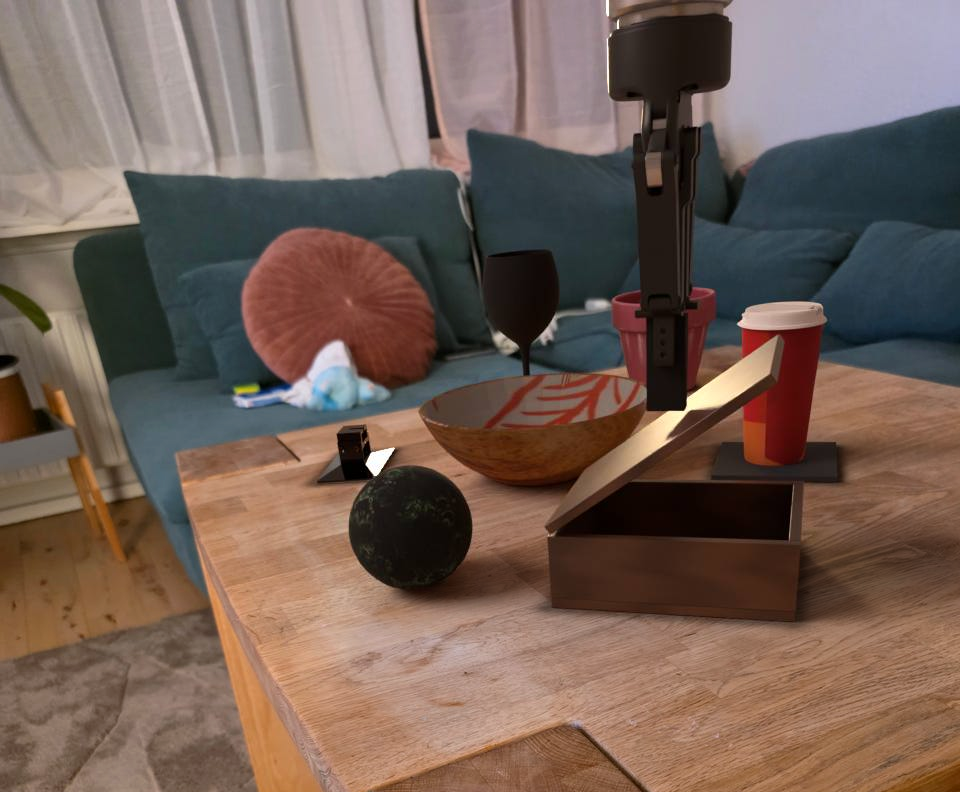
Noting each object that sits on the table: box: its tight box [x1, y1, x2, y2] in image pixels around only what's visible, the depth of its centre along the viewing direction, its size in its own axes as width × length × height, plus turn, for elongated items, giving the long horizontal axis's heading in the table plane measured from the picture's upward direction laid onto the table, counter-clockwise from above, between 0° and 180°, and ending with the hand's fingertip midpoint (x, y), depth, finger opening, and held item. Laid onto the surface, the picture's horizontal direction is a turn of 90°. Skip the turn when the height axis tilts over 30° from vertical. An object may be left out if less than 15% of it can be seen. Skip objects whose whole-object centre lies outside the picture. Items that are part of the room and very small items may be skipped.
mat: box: [710, 441, 839, 483], centre depth 94 cm, size 12×12×1 cm
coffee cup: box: [736, 301, 828, 466], centre depth 90 cm, size 8×8×15 cm
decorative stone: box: [348, 464, 474, 591], centre depth 72 cm, size 10×10×10 cm
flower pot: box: [611, 286, 717, 391], centre depth 126 cm, size 14×14×13 cm
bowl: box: [417, 372, 647, 487], centre depth 97 cm, size 25×25×8 cm
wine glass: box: [482, 248, 560, 376], centre depth 124 cm, size 10×10×20 cm
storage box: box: [546, 478, 805, 622], centre depth 70 cm, size 18×14×6 cm
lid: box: [544, 334, 785, 535], centre depth 66 cm, size 19×14×1 cm
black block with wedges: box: [315, 424, 396, 485], centre depth 107 cm, size 12×7×5 cm, turn 175°
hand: (666, 408), depth 65 cm, fingers closed
